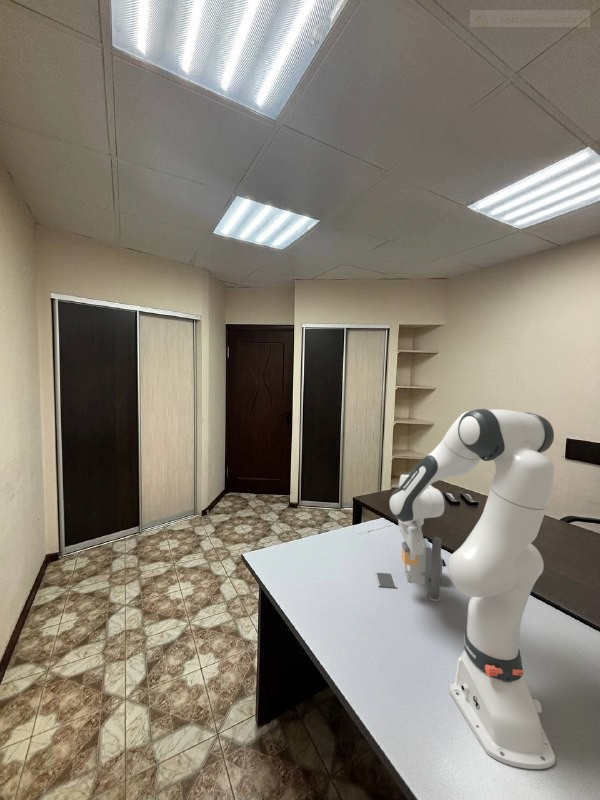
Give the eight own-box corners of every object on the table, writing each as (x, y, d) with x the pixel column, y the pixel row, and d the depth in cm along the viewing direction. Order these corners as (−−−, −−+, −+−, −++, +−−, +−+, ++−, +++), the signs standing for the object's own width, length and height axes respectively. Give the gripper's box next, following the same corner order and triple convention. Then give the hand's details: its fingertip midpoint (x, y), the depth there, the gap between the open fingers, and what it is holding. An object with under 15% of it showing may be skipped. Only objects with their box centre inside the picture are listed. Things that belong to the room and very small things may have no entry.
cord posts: (441, 602, 116) (444, 542, 115) (430, 601, 116) (433, 541, 115) (420, 561, 143) (422, 512, 142) (410, 560, 143) (412, 512, 142)
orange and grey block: (417, 565, 114) (418, 548, 114) (404, 564, 114) (405, 547, 114) (414, 558, 118) (414, 542, 118) (401, 558, 119) (402, 542, 118)
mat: (397, 588, 123) (397, 587, 123) (378, 587, 123) (378, 585, 123) (392, 574, 132) (392, 573, 132) (374, 573, 132) (374, 572, 132)
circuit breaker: (446, 587, 124) (447, 549, 124) (407, 582, 127) (408, 545, 126) (441, 576, 132) (443, 540, 131) (405, 571, 134) (406, 536, 134)
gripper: (429, 529, 105) (428, 571, 105) (412, 507, 126) (411, 542, 126) (409, 528, 106) (408, 570, 106) (395, 506, 126) (394, 541, 126)
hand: (409, 554), depth 116 cm, fingers closed on orange and grey block, 4 cm apart
